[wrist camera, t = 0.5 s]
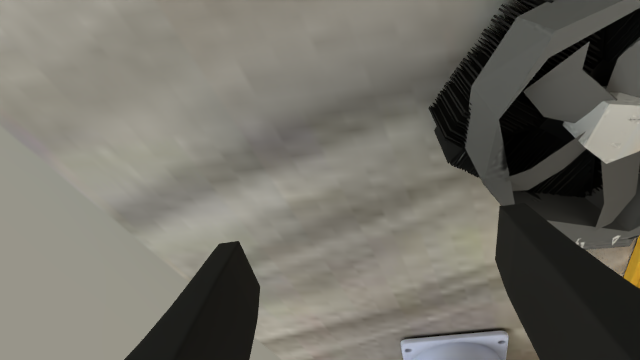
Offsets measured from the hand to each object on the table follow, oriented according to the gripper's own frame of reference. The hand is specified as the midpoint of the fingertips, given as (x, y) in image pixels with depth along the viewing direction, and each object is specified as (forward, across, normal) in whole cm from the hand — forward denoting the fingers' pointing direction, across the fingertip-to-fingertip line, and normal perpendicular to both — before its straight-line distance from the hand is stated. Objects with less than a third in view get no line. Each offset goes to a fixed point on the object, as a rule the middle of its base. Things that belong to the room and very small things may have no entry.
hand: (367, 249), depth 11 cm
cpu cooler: (+10, -9, 0) cm, 13 cm away
